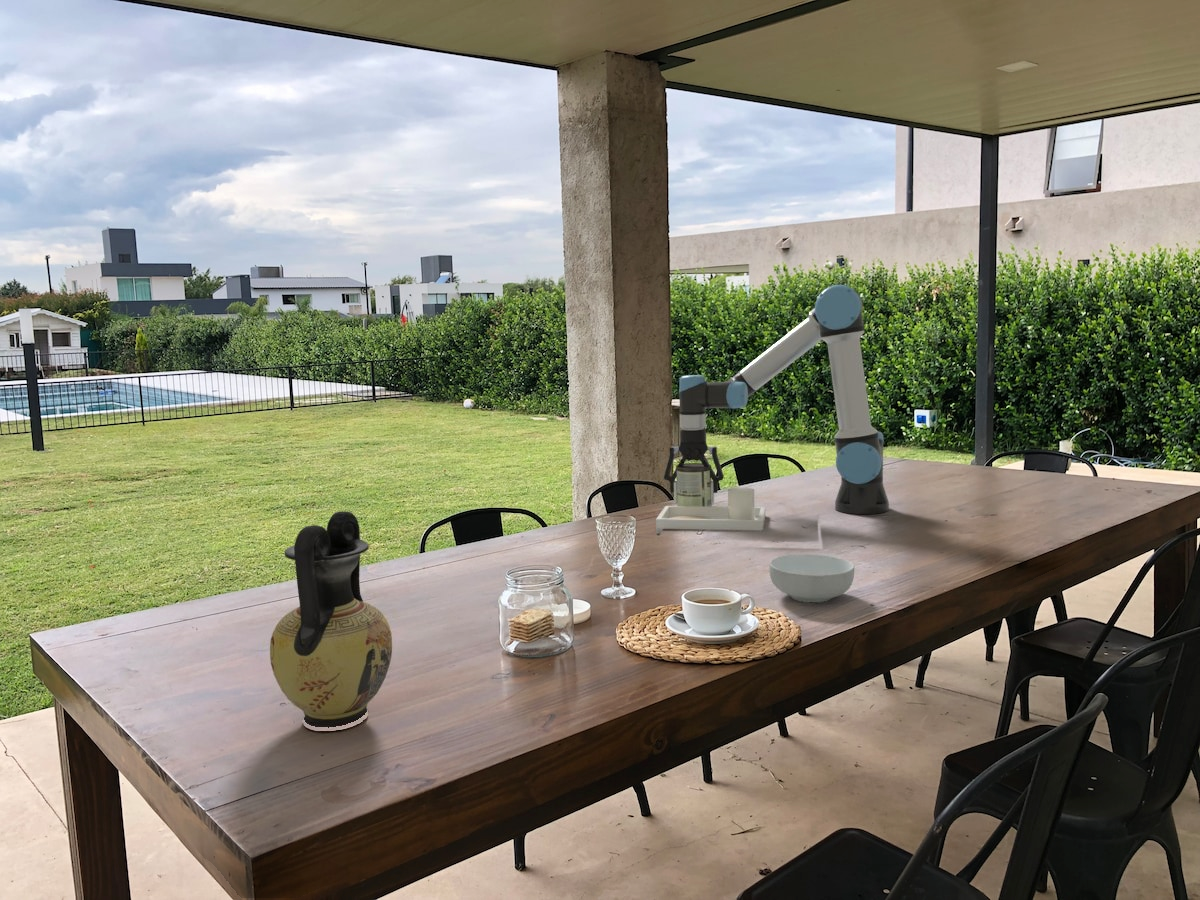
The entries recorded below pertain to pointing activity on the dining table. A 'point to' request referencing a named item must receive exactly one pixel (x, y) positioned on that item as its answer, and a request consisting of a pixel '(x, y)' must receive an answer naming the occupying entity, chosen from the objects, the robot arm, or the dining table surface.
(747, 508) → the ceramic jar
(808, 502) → the dining table surface
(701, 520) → the tray
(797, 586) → the cereal bowl
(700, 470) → the coffee can
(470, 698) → the dining table surface
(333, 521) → the amphora
